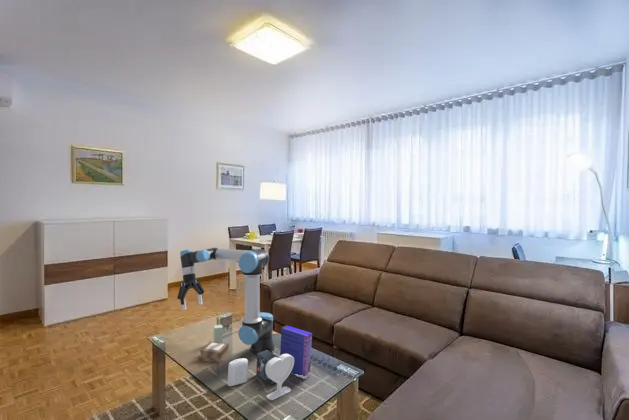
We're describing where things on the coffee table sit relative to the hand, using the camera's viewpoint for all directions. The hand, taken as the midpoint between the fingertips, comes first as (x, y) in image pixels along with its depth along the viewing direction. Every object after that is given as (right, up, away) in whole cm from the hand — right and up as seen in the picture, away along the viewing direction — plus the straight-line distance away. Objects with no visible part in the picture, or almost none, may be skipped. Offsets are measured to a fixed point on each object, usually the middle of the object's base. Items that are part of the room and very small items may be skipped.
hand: (192, 307), depth 201 cm
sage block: (+15, -25, +4) cm, 30 cm away
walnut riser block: (+18, -26, -12) cm, 34 cm away
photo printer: (+37, -28, -37) cm, 60 cm away
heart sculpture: (+60, -29, -44) cm, 80 cm away
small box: (+52, -28, -31) cm, 67 cm away
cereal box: (+66, -29, -25) cm, 76 cm away
